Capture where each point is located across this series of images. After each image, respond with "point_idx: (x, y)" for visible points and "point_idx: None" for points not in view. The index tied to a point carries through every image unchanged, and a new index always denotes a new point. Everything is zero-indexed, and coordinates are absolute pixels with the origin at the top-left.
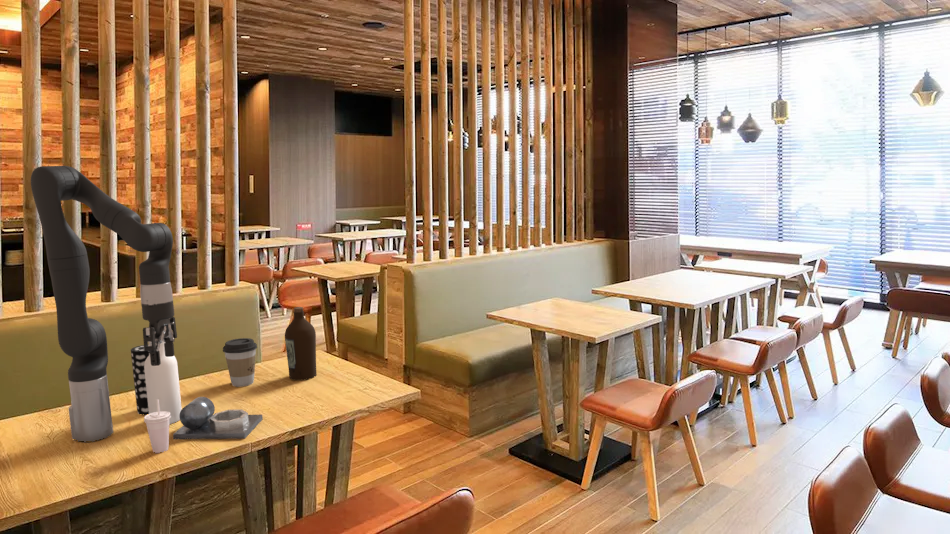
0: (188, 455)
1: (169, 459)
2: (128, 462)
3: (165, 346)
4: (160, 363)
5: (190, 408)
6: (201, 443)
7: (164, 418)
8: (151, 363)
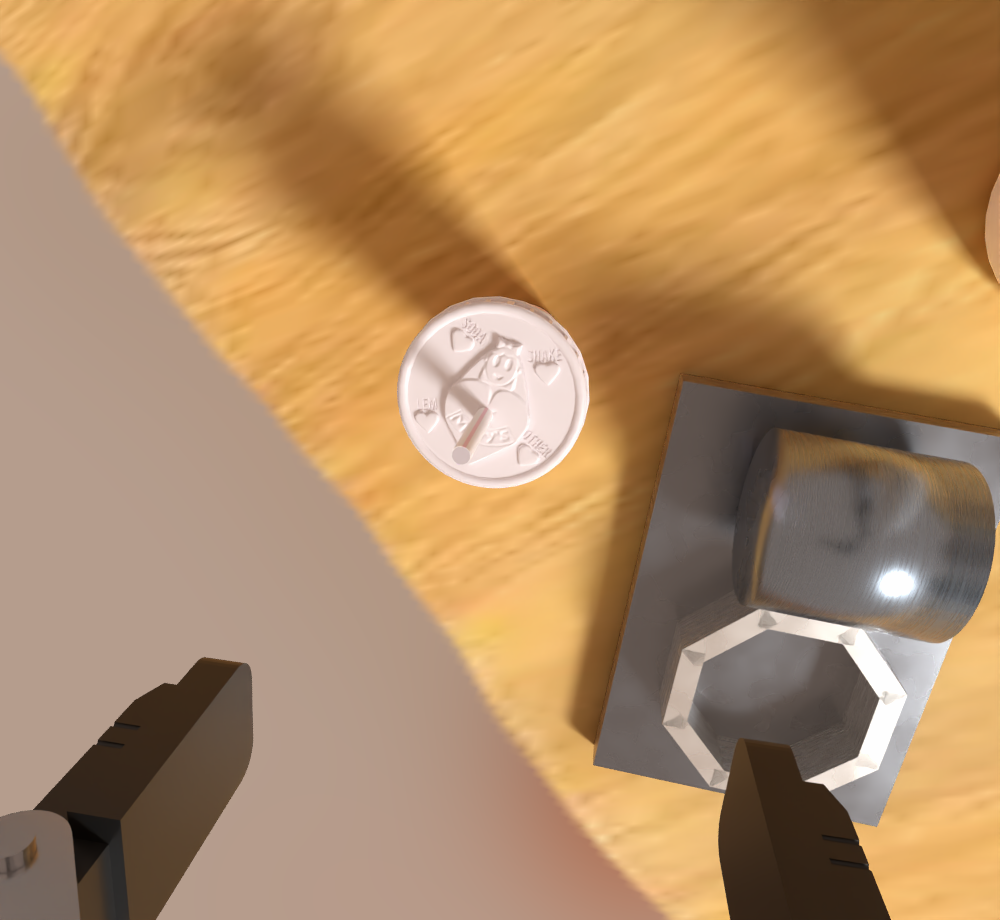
0: (422, 517)
1: (384, 432)
2: (373, 209)
3: (777, 892)
4: (239, 774)
5: (769, 540)
6: (576, 548)
7: (435, 464)
8: (151, 692)
